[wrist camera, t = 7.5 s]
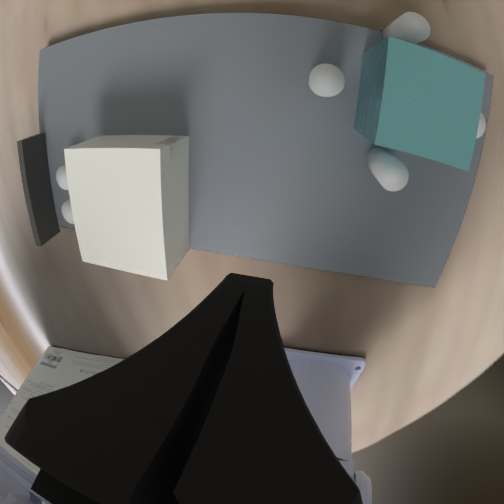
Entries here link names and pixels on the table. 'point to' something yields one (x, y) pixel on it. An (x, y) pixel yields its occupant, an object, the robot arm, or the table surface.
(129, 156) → the block
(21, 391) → the hard drive box
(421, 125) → the teal block
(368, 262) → the base plate
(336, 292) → the table surface
